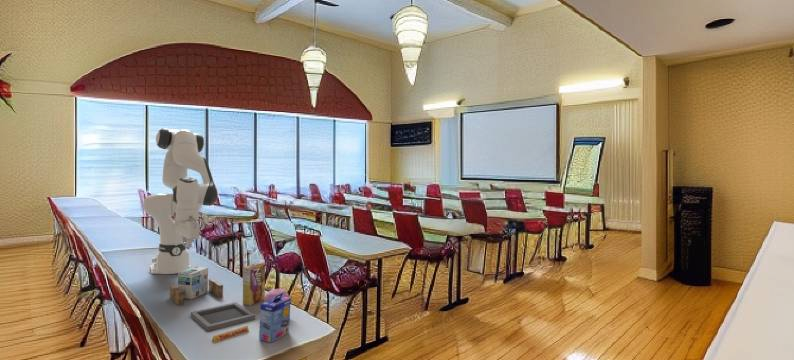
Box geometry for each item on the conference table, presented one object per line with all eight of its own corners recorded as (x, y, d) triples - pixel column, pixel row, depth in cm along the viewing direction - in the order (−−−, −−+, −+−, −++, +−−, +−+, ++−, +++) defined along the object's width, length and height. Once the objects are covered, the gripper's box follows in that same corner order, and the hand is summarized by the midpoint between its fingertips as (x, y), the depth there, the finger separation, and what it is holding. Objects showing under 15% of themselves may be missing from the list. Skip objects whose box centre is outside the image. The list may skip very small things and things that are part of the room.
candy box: (256, 297, 173) (257, 261, 173) (265, 299, 172) (265, 263, 171) (241, 304, 165) (242, 266, 164) (250, 305, 164) (251, 268, 163)
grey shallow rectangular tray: (190, 316, 151) (190, 312, 151) (236, 305, 163) (236, 302, 163) (207, 331, 139) (207, 326, 139) (255, 318, 151) (255, 314, 151)
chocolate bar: (211, 341, 132) (211, 334, 132) (245, 330, 141) (245, 324, 141) (215, 344, 131) (215, 337, 130) (249, 333, 140) (249, 326, 140)
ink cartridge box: (272, 343, 132) (273, 299, 131) (258, 340, 134) (259, 296, 133) (290, 332, 141) (291, 290, 140) (277, 329, 143) (278, 288, 142)
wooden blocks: (169, 297, 169) (169, 285, 169) (212, 289, 181) (212, 278, 181) (178, 305, 161) (179, 293, 160) (222, 296, 173) (223, 285, 172)
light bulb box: (191, 299, 168) (191, 273, 167) (177, 298, 169) (177, 272, 169) (208, 291, 178) (208, 267, 178) (194, 290, 180) (195, 265, 179)
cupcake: (292, 312, 158) (293, 287, 157) (280, 321, 150) (281, 294, 149) (272, 309, 160) (272, 284, 160) (259, 317, 152) (259, 291, 151)
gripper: (203, 217, 173) (203, 249, 174) (187, 211, 188) (187, 241, 188) (187, 218, 169) (187, 251, 169) (172, 212, 183) (172, 243, 184)
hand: (187, 246), depth 179 cm, fingers open, 3 cm apart
